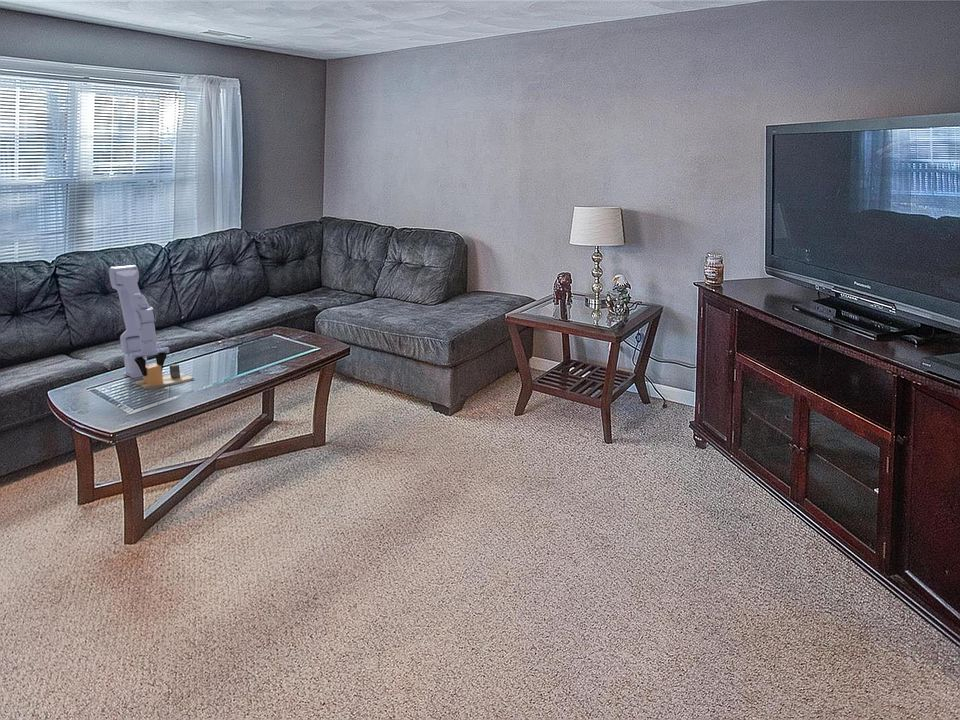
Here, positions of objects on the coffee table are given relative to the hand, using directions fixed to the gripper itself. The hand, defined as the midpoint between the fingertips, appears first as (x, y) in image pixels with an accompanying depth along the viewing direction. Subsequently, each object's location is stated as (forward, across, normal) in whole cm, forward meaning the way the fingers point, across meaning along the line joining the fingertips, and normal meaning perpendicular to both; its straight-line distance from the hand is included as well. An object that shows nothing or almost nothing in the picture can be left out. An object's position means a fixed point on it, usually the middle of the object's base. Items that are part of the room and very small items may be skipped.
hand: (152, 373), depth 286 cm
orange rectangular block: (+3, 0, 0) cm, 3 cm away
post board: (+4, +4, 0) cm, 6 cm away
